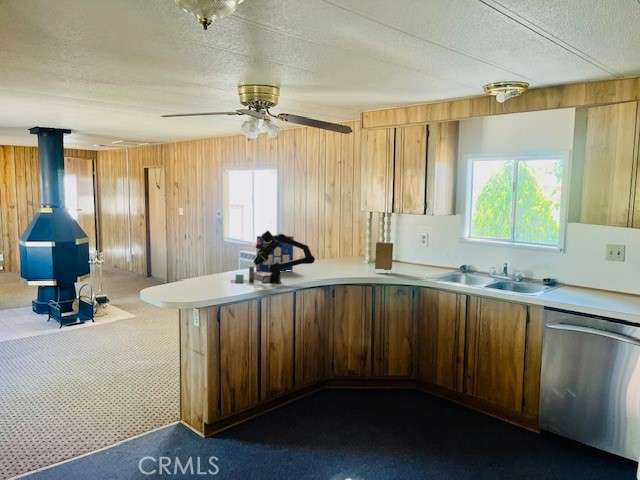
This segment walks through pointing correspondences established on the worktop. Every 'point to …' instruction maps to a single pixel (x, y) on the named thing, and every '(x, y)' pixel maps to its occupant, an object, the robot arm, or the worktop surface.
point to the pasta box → (276, 255)
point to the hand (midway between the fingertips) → (254, 263)
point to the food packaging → (384, 255)
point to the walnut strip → (251, 277)
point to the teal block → (239, 277)
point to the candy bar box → (262, 276)
